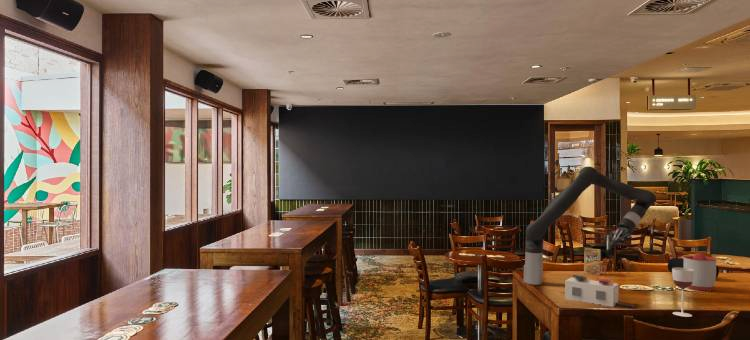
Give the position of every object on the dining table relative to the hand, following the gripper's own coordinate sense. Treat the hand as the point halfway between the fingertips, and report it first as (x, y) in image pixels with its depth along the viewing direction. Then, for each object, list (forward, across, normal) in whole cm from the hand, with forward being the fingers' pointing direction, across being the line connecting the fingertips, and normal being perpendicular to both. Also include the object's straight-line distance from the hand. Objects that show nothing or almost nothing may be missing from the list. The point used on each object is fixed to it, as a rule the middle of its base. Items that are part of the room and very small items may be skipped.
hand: (611, 247), depth 265 cm
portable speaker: (-44, -21, +79) cm, 92 cm away
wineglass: (+15, +38, +19) cm, 45 cm away
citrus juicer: (-25, +4, +59) cm, 64 cm away
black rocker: (+26, +2, -5) cm, 27 cm away
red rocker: (+22, +11, -1) cm, 25 cm away
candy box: (-5, -45, +40) cm, 60 cm away
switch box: (+29, +10, +5) cm, 31 cm away
